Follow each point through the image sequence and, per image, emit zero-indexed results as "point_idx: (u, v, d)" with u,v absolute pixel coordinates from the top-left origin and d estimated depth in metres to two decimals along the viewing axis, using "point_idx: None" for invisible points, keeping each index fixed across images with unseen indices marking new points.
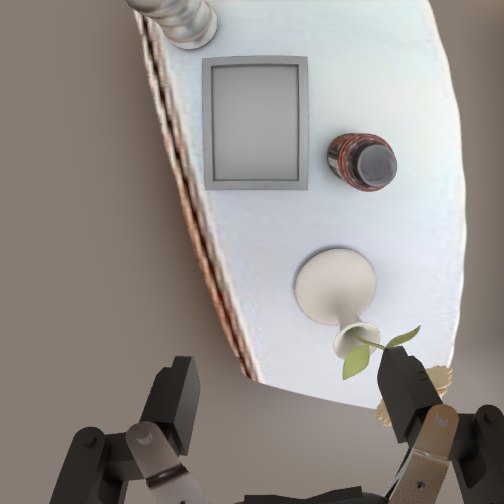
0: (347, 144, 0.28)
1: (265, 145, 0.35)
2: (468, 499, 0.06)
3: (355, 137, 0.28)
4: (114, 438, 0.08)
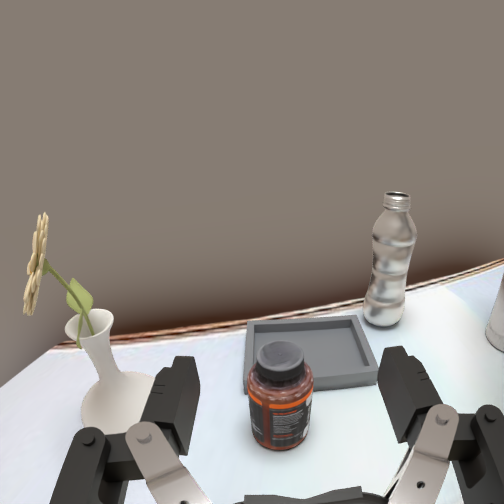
0: None
1: None
2: (468, 500, 0.06)
3: None
4: (114, 438, 0.08)
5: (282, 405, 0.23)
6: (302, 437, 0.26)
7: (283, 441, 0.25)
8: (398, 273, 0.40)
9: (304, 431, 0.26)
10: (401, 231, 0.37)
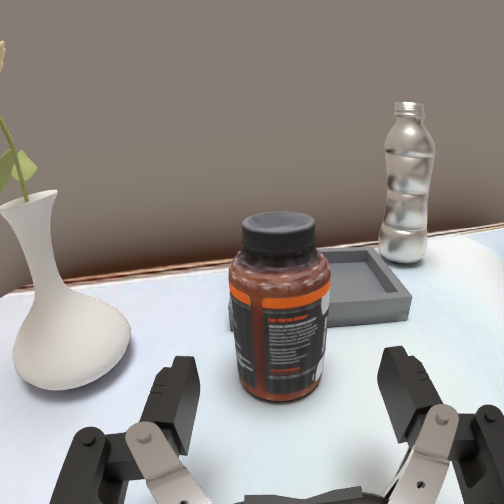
0: None
1: None
2: (468, 499, 0.06)
3: None
4: (114, 438, 0.08)
5: (283, 299, 0.15)
6: (315, 380, 0.18)
7: (286, 383, 0.17)
8: (418, 192, 0.32)
9: (318, 368, 0.18)
10: (418, 139, 0.29)
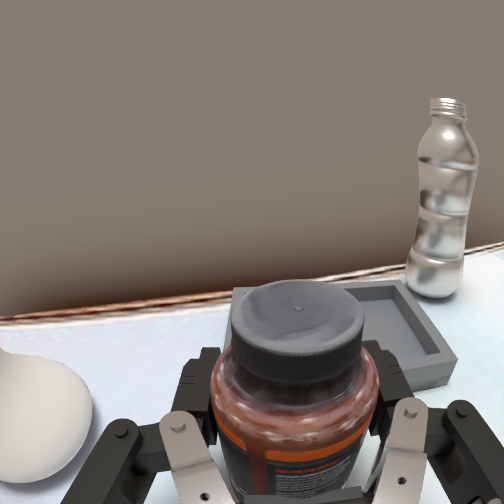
0: None
1: None
2: (452, 494, 0.06)
3: None
4: (145, 429, 0.09)
5: (303, 453, 0.07)
6: None
7: None
8: (459, 213, 0.24)
9: None
10: (462, 146, 0.21)
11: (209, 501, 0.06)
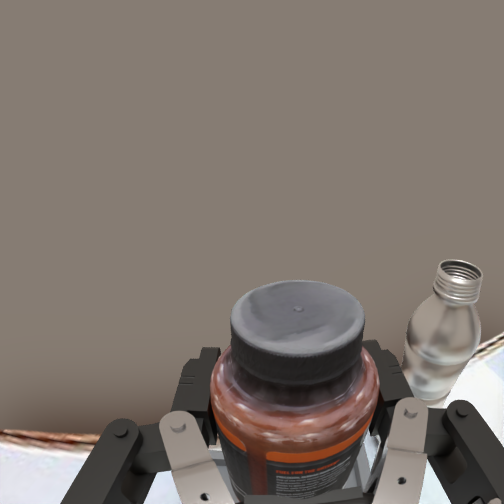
0: None
1: None
2: (451, 494, 0.06)
3: None
4: (145, 429, 0.09)
5: (303, 454, 0.07)
6: None
7: None
8: (439, 396, 0.20)
9: None
10: (461, 340, 0.18)
11: (209, 501, 0.06)
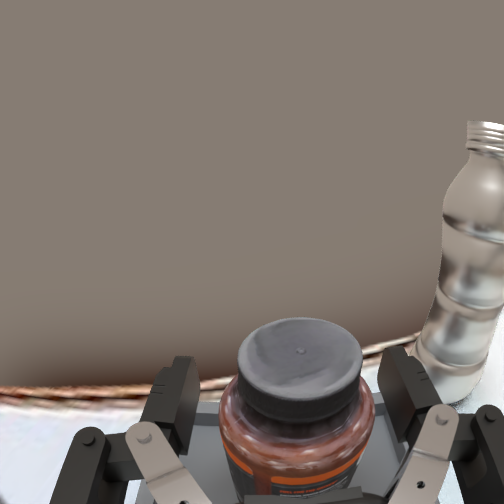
0: None
1: None
2: (467, 500, 0.06)
3: None
4: (114, 438, 0.08)
5: (304, 478, 0.08)
6: None
7: None
8: (495, 305, 0.14)
9: None
10: None
11: None
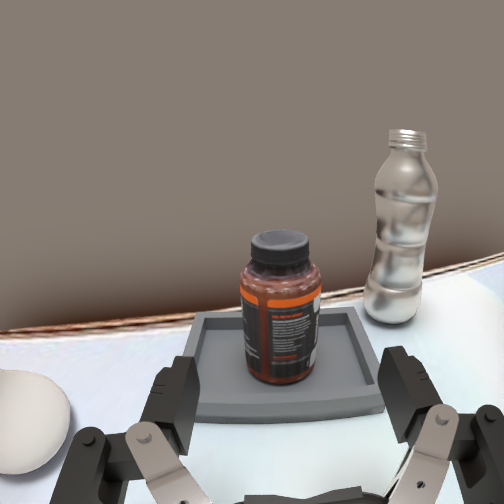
0: None
1: (244, 371, 0.25)
2: (468, 500, 0.06)
3: None
4: (114, 438, 0.08)
5: (284, 300, 0.20)
6: (309, 366, 0.23)
7: (285, 367, 0.22)
8: (414, 244, 0.27)
9: (311, 356, 0.23)
10: (417, 179, 0.24)
11: None
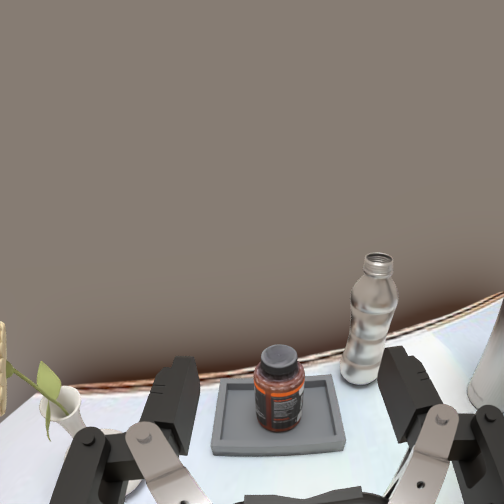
0: None
1: (255, 422, 0.36)
2: (468, 500, 0.06)
3: None
4: (114, 438, 0.08)
5: (280, 393, 0.31)
6: (296, 421, 0.34)
7: (281, 424, 0.33)
8: (375, 338, 0.38)
9: (298, 416, 0.34)
10: (380, 299, 0.35)
11: None
